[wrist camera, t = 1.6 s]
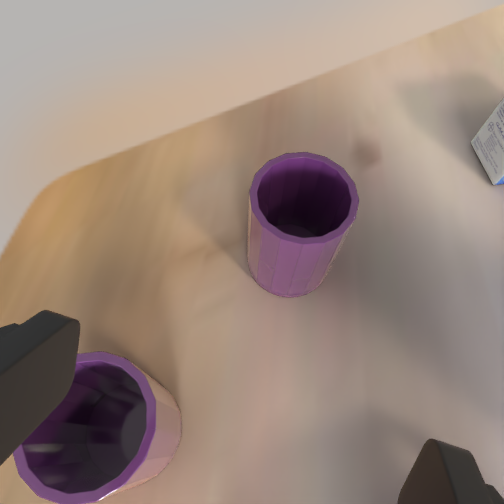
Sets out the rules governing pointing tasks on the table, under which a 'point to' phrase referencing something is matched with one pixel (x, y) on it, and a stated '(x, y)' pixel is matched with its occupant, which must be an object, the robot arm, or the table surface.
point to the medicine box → (492, 145)
